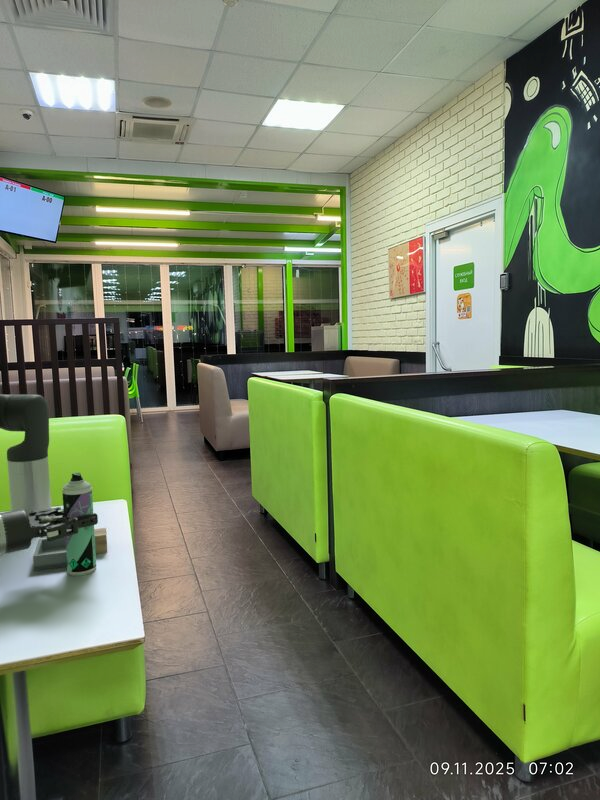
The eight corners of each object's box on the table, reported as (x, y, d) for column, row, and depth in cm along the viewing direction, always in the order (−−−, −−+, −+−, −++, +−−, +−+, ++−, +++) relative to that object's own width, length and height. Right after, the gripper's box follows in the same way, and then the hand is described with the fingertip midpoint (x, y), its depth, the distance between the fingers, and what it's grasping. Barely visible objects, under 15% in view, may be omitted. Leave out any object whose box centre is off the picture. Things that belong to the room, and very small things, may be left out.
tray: (39, 552, 122) (38, 539, 122) (90, 545, 126) (89, 533, 125) (34, 570, 112) (33, 556, 112) (88, 563, 116) (88, 549, 116)
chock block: (93, 546, 126) (91, 529, 125) (106, 544, 127) (106, 527, 126) (92, 554, 121) (91, 536, 121) (107, 552, 122) (106, 534, 122)
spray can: (68, 566, 114) (62, 471, 112) (97, 563, 116) (91, 469, 114) (66, 577, 109) (59, 477, 107) (95, 573, 111) (90, 475, 108)
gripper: (6, 524, 96) (103, 504, 107) (-11, 505, 107) (79, 489, 118) (9, 565, 97) (105, 542, 108) (-8, 543, 108) (81, 523, 119)
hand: (91, 514), depth 113 cm, fingers closed on spray can, 5 cm apart
